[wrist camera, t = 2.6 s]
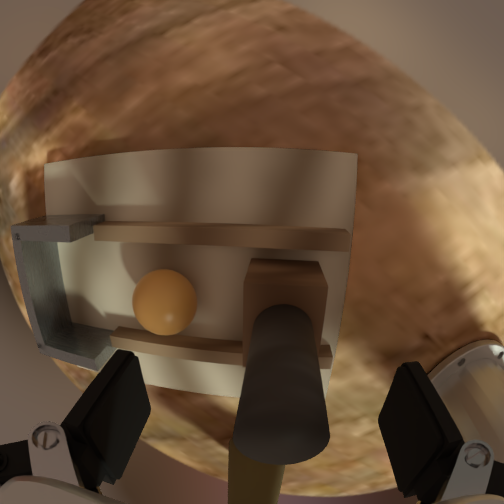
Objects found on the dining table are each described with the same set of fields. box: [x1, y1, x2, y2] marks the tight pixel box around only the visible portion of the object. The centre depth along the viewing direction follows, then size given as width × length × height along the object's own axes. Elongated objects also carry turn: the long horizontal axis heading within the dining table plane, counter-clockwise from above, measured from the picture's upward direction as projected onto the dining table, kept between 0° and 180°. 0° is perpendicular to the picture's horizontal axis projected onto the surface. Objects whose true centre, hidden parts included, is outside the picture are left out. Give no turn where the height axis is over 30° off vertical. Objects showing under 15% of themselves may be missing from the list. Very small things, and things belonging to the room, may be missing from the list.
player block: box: [233, 258, 330, 465], centre depth 13 cm, size 4×5×11 cm
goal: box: [11, 214, 117, 371], centre depth 18 cm, size 6×10×4 cm, turn 179°
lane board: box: [44, 147, 358, 398], centre depth 19 cm, size 22×18×3 cm
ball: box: [132, 269, 197, 336], centre depth 17 cm, size 4×4×4 cm
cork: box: [228, 437, 285, 504], centre depth 20 cm, size 6×6×11 cm
